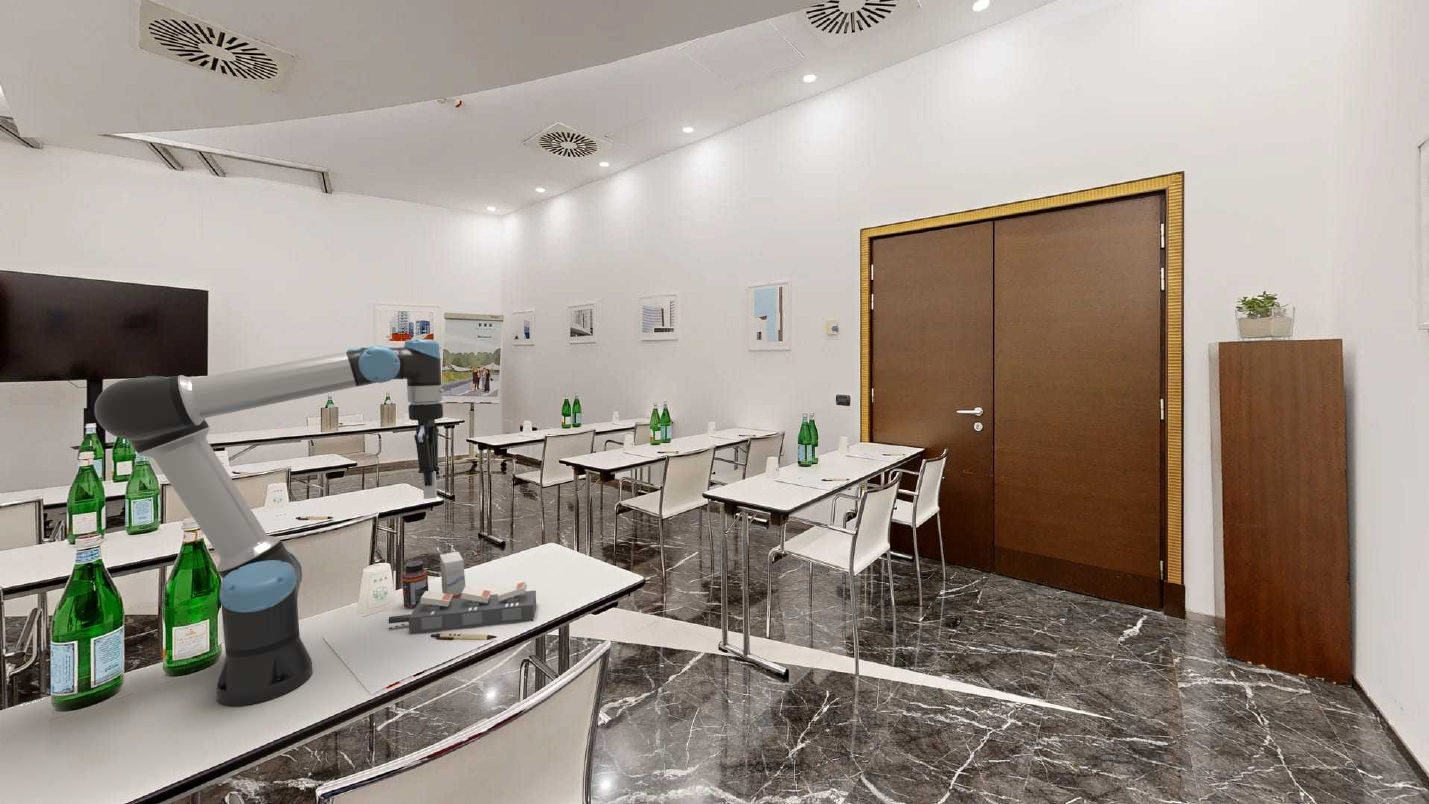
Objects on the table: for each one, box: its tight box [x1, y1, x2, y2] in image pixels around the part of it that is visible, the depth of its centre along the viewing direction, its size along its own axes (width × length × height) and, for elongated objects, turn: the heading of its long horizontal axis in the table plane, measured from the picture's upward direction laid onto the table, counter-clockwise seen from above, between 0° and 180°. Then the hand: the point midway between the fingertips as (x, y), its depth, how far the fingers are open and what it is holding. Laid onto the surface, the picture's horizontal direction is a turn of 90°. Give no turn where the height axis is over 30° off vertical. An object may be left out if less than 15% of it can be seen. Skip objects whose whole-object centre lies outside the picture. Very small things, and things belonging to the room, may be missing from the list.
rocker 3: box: [497, 581, 528, 601], centre depth 143 cm, size 6×4×2 cm, turn 102°
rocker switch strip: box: [388, 590, 537, 635], centre depth 141 cm, size 34×9×5 cm, turn 103°
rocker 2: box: [461, 586, 492, 603], centre depth 141 cm, size 6×4×2 cm, turn 104°
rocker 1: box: [420, 590, 453, 607], centre depth 139 cm, size 6×4×2 cm, turn 104°
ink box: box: [439, 551, 467, 599], centre depth 153 cm, size 9×5×12 cm, turn 34°
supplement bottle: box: [401, 560, 429, 610], centre depth 150 cm, size 6×6×11 cm
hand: (430, 497), depth 141 cm, fingers closed
